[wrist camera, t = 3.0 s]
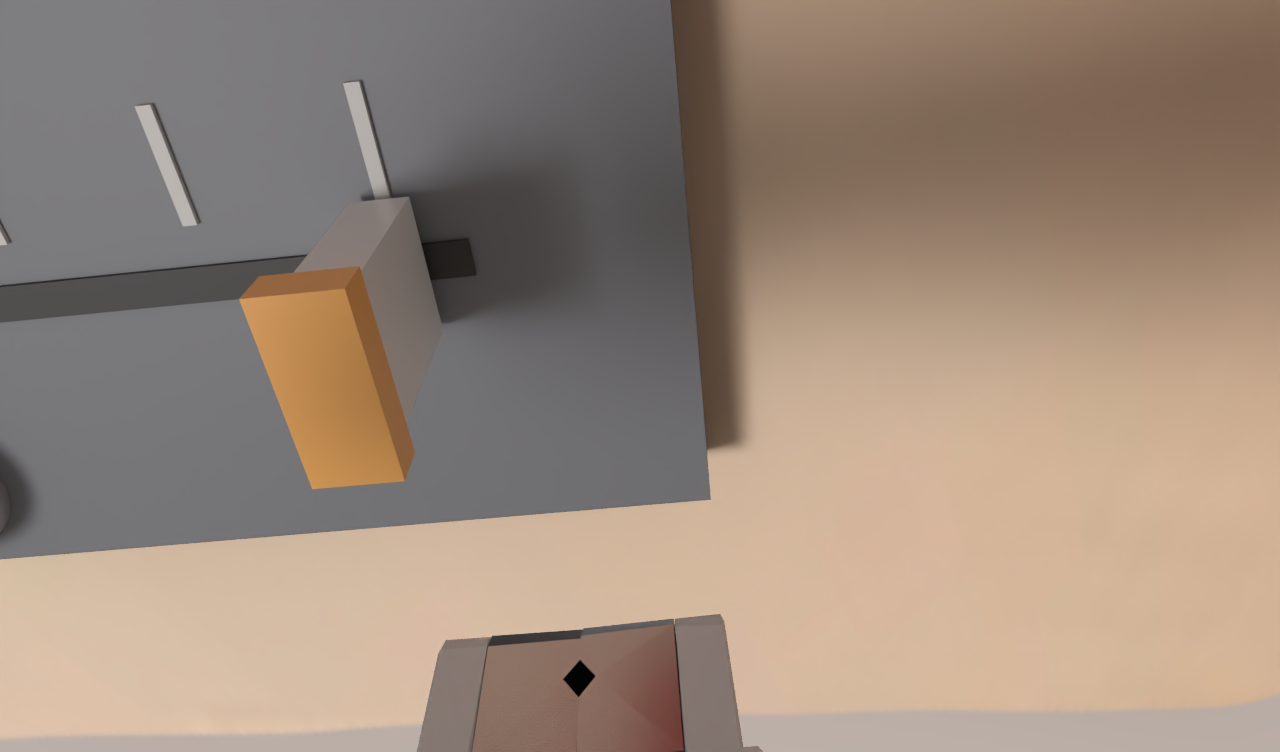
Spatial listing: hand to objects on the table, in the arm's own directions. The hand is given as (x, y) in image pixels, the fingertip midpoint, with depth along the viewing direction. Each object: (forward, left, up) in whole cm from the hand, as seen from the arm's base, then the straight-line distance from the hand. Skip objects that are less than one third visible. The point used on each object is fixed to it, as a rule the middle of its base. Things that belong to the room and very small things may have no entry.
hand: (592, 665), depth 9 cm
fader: (+4, -1, -10) cm, 11 cm away
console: (+9, -1, -12) cm, 15 cm away
